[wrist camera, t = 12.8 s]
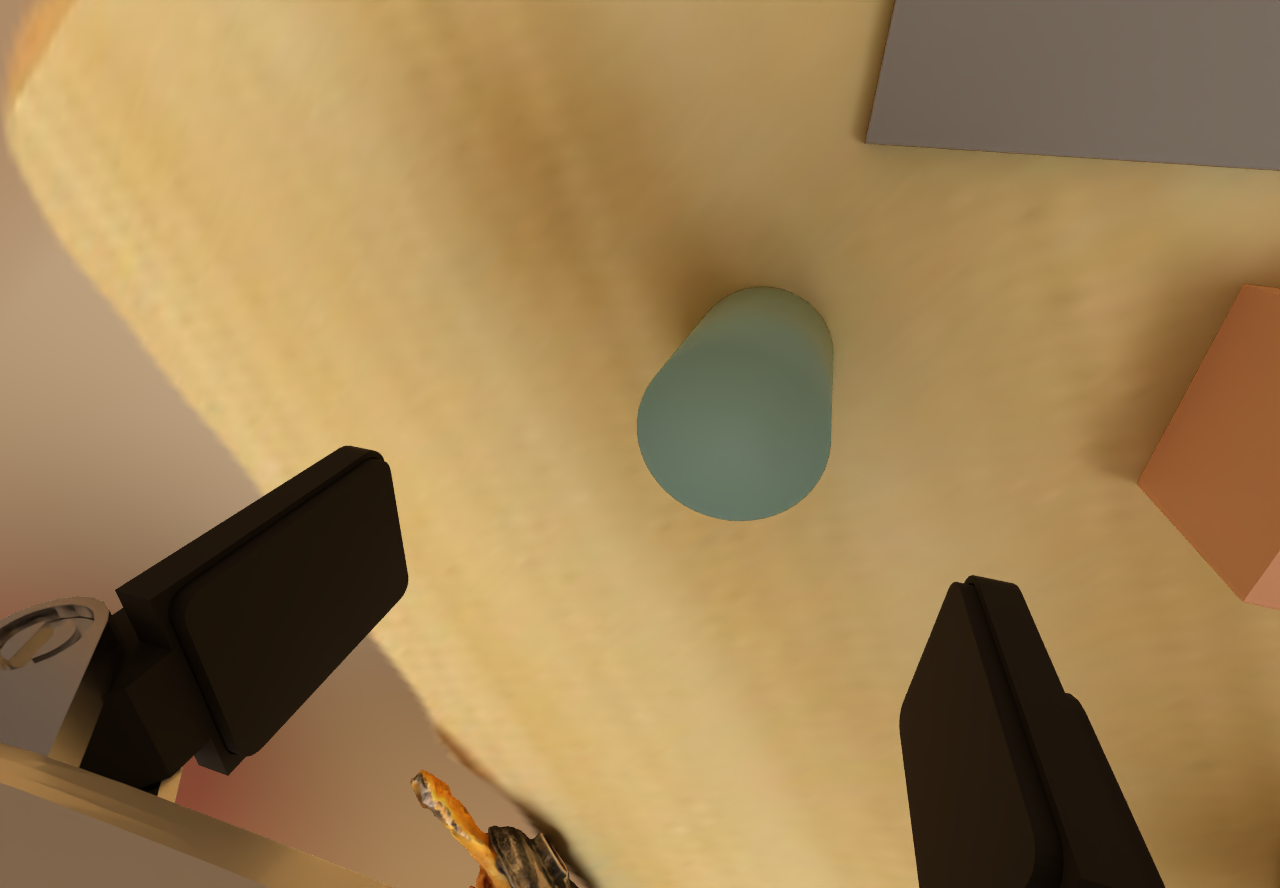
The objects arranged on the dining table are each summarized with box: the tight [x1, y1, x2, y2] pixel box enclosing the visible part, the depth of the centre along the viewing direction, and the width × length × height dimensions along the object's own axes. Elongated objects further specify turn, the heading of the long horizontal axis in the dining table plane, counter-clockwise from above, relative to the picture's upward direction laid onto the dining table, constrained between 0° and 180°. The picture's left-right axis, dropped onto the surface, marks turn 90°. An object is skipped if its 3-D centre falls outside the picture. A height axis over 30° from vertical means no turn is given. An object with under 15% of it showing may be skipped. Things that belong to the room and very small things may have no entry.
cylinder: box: [637, 287, 833, 521], centre depth 18 cm, size 5×5×7 cm
